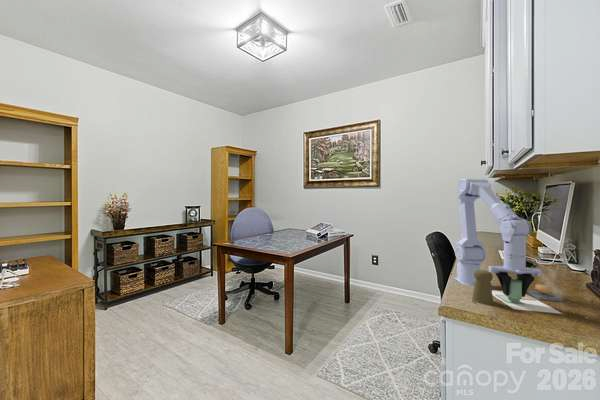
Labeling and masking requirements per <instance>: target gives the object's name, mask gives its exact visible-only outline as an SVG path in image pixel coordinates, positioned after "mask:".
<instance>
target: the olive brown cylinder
mask: <svg viewBox="0 0 600 400" xmlns="http://www.w3.org/2000/svg"><path fill="white" fill-rule="evenodd" d="M474 277H475V279H476V280H475V285H473V286H474V287H473V292H472V298H471V299H472V300H471V302H472V303H473V304H475V305H478V304H482V305H491V306H492V305H494V296H493V295H492V283H491V282H492V280H493V273H491V272H489V271H488V270H485V269H480V270H476V271H475V272H474Z"/></svg>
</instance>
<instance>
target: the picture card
mask: <svg viewBox="0 0 600 400" xmlns="http://www.w3.org/2000/svg"><path fill="white" fill-rule="evenodd" d="M492 296H493V297H495V298H496V299H498V300H499V301H500V302H502V303H504V304H505V305H507V306H509V308H511V309H513V310H519V311H528V312H537V313H538V312H539V313H551V314H560V315H561V314H562V315H563V313H562V312H560V311H559V310H557V309H555V308H553V307H552V306H549V305H547V304H546V303H544V302H541V300H539V299H537V298H535V297H533V296H531V295H529V294H527V293H526V294H525V297H522V299H520V302H515V301H511V300H509V299H508V297H507V296H506V295H505V294H503V290H494V289H493V290H492Z"/></svg>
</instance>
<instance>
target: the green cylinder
mask: <svg viewBox="0 0 600 400" xmlns="http://www.w3.org/2000/svg"><path fill="white" fill-rule="evenodd" d="M506 296H507V295H506ZM507 297H508V299H509V300H511V301H515V302H520V299H522V280H521V279H517V278H516V277H512V278H511V281H510V287H509V296H507Z"/></svg>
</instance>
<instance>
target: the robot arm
mask: <svg viewBox="0 0 600 400" xmlns="http://www.w3.org/2000/svg"><path fill="white" fill-rule="evenodd" d="M491 187H492V184H491V183H490V182H489V180H488V179H486V178H465V177H464V178H461V179H460V180H459V181H458V182H457V184H456V191H457V199H458V201H459V203H458V205H459V217H460V227H461V228H460V231H461V239H460V240H459V241H457V242H456V243H455V249H454V255H455V257H456V259H457V261H458V262H457V264H456V277H454V278H453V279H454V280H456V281H457V282H458V283H459V284H462V285H467V286H475V280H476V279H475V277H474V272H475V271H476V270H481V264H483V262H484V261H485V260H486V258H487V257H486V256H487V254H486V250H485V248H484V243H482V241H480V240H479V239H478V236H477V235H478V234H477V224H476V213H475V202H476V200H479V199H480V198H481V199H482V200H483V202H484V203H485V204H486V205H488V206H489V208H490V210H489V212H490V214H491V215H492V217H493V219H495V220H496V222H497V223H498V224H499V225H500V226H499V227H498V229H499V231H500V234H501V239H502V241H503V262H502V263H503V265H488V270H487V271H489V272H491V273H492V274H495V276H496V277H497V279H498V281H499V283H500V287H501V289H502V290H501V291H503V294H505V295H507V296H509V287H510V281H511V278H513V277H512V276H511V275H512V274H513V275H516V277H517V279H521V280H522V297H525V294H527V293H526V292H527V290H529V287H530V285H531V284H532V283H533V282H534V281H535V277H534V276H537V277H542V269H538V268H533V267H532V268H531V267H526V265H527V263H526V262H527V261H526V260H527V259H526V257H527V237H528V236H530V234H531V233H532V226H531V225H532V224H531V223H530V222H529V221H528V220H527V219H524V218H521V217H520V216H519V215H517V214H516V213H515V211H513V209H512V208H511V206H510V205H509V204H507V203H504V202H501V201H500V200H499V198H498V197H497V195H496V194H495V193H494V191H493V189H491ZM509 274H511V275H509Z"/></svg>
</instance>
